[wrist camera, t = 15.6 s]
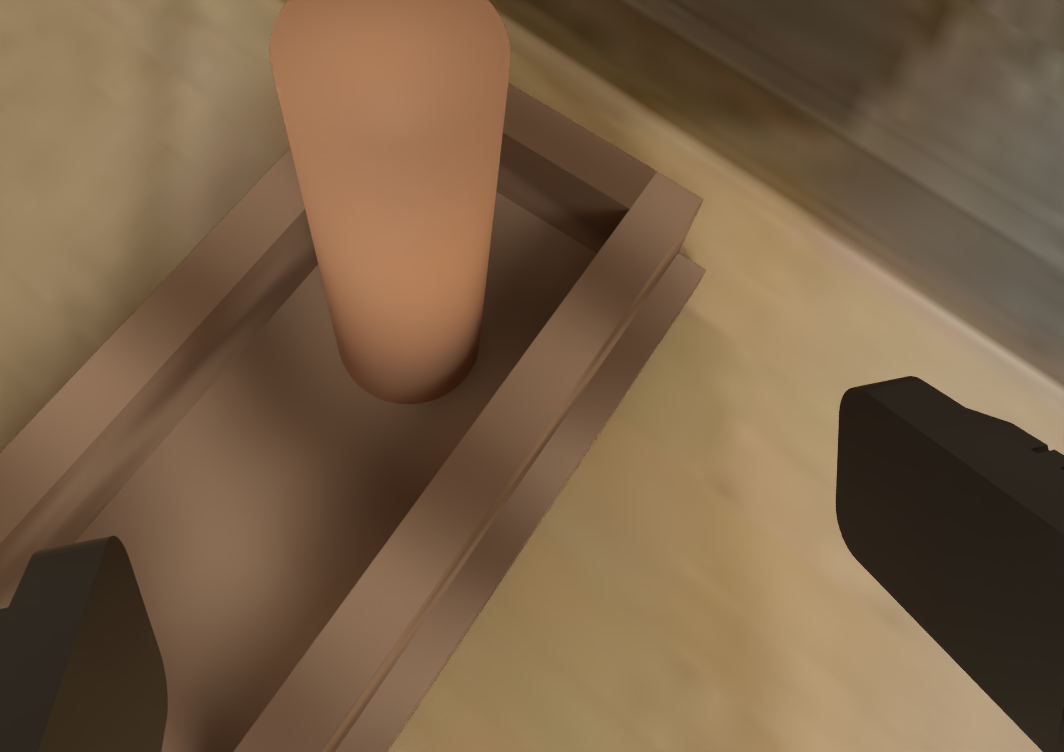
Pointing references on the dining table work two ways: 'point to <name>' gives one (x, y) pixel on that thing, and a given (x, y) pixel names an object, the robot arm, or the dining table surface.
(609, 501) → the dining table surface
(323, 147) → the orange rounded cylinder
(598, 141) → the slot board
